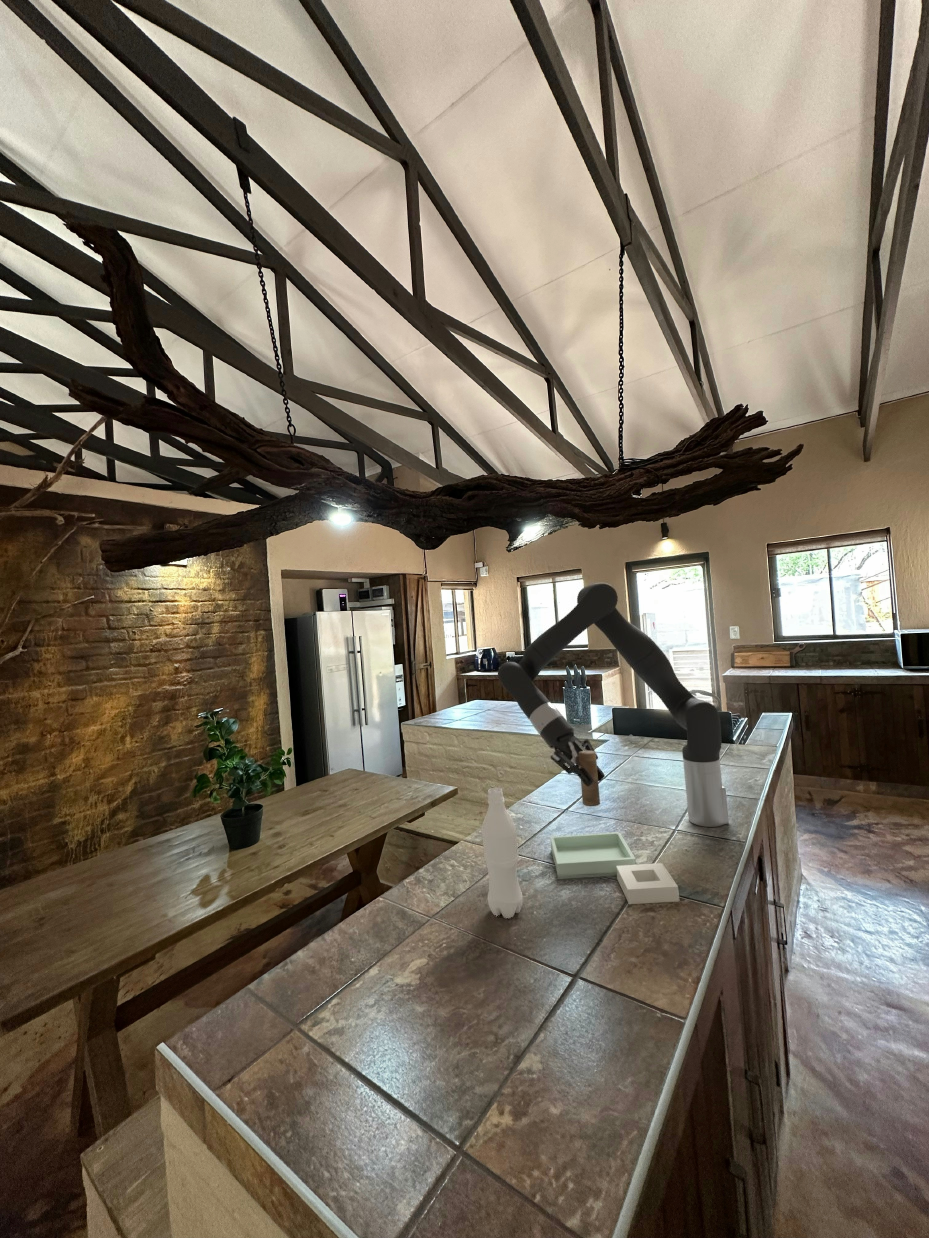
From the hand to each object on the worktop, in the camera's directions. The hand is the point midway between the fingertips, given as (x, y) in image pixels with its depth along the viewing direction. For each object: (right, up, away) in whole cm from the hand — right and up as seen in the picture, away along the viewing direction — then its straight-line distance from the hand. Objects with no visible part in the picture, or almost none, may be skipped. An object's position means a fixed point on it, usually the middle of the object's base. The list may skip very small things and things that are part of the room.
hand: (596, 781), depth 120 cm
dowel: (-1, -6, +1) cm, 6 cm away
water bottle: (-22, -22, -15) cm, 35 cm away
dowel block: (+8, -19, -11) cm, 24 cm away
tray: (0, -20, +3) cm, 21 cm away
